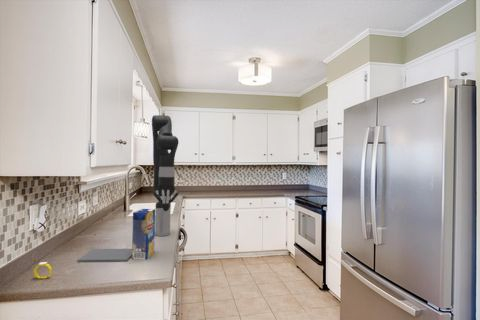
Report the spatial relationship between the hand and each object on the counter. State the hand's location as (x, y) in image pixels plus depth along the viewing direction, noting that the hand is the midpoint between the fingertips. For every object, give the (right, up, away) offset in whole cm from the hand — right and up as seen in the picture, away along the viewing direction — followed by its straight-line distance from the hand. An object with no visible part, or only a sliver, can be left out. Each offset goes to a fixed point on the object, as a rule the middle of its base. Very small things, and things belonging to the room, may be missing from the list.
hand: (165, 210), depth 139 cm
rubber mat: (-27, -21, -2) cm, 35 cm away
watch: (-41, -21, -29) cm, 54 cm away
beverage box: (-11, -22, -1) cm, 25 cm away
